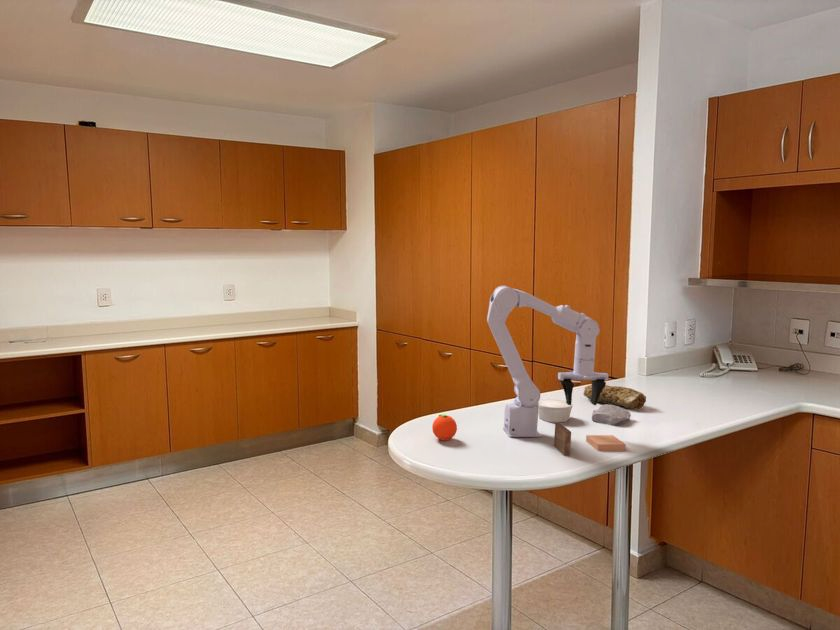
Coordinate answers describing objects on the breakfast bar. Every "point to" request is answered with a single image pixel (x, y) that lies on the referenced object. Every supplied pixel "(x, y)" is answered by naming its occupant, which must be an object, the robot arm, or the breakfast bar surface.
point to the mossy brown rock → (618, 396)
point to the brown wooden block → (562, 439)
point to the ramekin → (554, 410)
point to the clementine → (444, 427)
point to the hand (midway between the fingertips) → (581, 404)
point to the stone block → (611, 415)
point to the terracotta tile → (605, 443)
